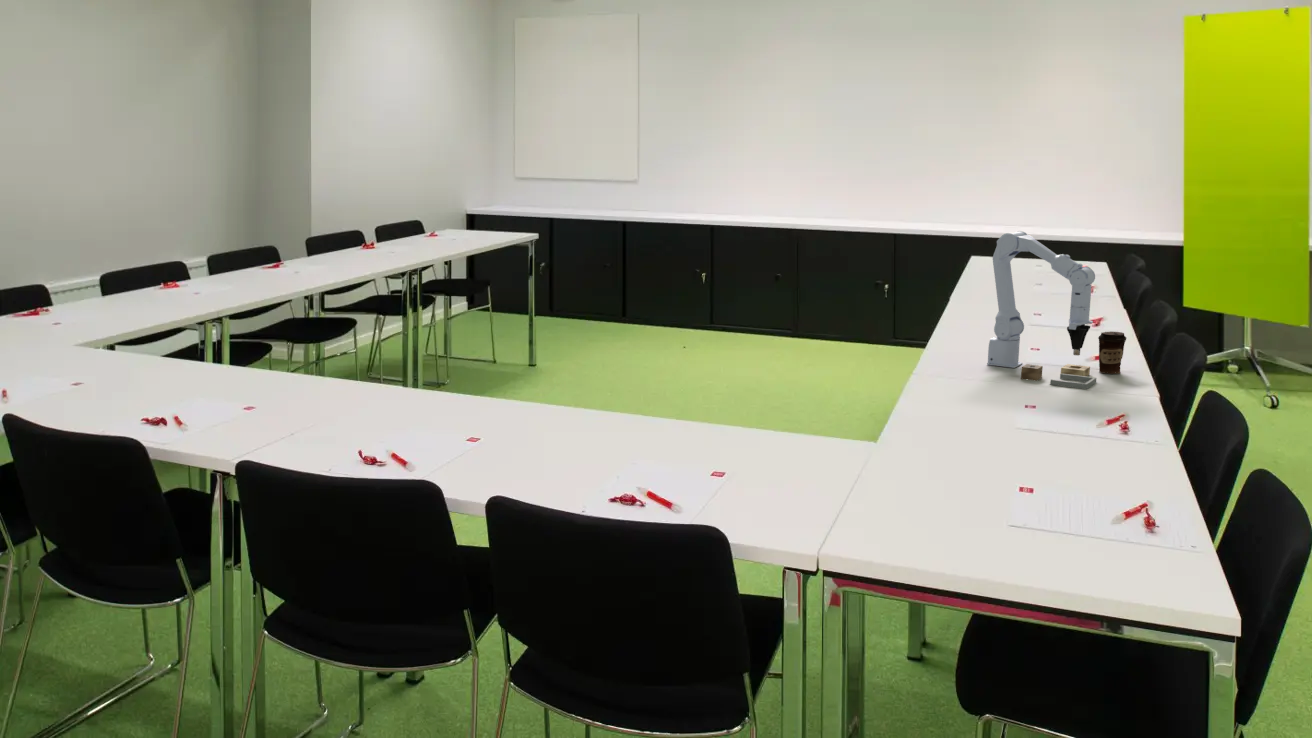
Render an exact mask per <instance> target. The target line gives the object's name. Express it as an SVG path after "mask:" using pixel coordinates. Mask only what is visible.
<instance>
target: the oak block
mask: <svg viewBox="0 0 1312 738" xmlns="http://www.w3.org/2000/svg"><path fill="white" fill-rule="evenodd" d="M1090 371H1091V366H1088V365H1081V364H1080V365H1078V364H1071V363H1067V364H1065V365H1063V366H1061V368H1060V374H1070V375H1078V376H1086V377H1089V374H1091V372H1090Z"/></svg>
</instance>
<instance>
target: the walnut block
mask: <svg viewBox="0 0 1312 738" xmlns="http://www.w3.org/2000/svg"><path fill="white" fill-rule="evenodd" d="M1020 370H1021V371H1020V372H1021V374H1020V379H1021V380H1026V379H1028V380H1027V381H1034V380H1035V381H1034V382H1037V380H1038V381H1040V380H1041V379H1042V378H1043V365H1038V364H1037V365H1036V364H1030V363H1029V364H1028V363H1026V364H1024V365H1022V366H1021V369H1020Z"/></svg>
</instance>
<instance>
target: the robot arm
mask: <svg viewBox="0 0 1312 738" xmlns="http://www.w3.org/2000/svg"><path fill="white" fill-rule="evenodd" d="M1021 252H1030V253H1031V254H1034V256H1037V257H1039V258H1040V259H1041V260H1044V261H1045V262H1047V263H1049V264H1050V266H1051V270H1053V271H1054V272H1056V273H1057V274H1058V275H1060V276H1062V277H1064V278H1065V279H1066V280H1068V281H1069V283H1070V285H1071V295H1070V296H1071V297H1070V308H1069V309H1070V310H1069V319H1068V326H1067V327H1066V330H1067V333H1068V335H1069V338H1070V345H1071V348H1072V350H1074V349H1076V350H1079V349H1080V350H1081V349H1082V348H1083V346H1084V343H1085V340H1086V337H1087V334H1088V332H1089V330H1090V329H1091V325H1092V324H1093V323H1094V321H1093V320H1090V311H1091V299H1092V284H1093V283H1094V282H1095V279H1096V274H1095V271H1094V270H1093V269H1092V268H1091V267H1089V266H1084V265H1083V264H1082V263H1078V262H1077V261H1075V260H1073V259H1072V258H1071V256H1070V255H1069V254H1064V253H1062V254H1061V253H1060V254H1057V253H1055V252H1054V251H1053V250H1051V249H1049V248H1048V247H1047V246H1045V245H1044V244H1043V243H1041V242H1040V241H1038V240H1037V239H1036V238H1035V237H1034V236H1032V235H1030V234H1028V233H1027V232H1025V231H1022V230H1018V231H1014V232H1006V233H1004V234H1002V235H1001V236H1000V237H999V238H998V239H997V240H996V248H995V250H994V252H993V256H992V264H993V273H994V275H993V276H994V282H995V283H994V284H995V290H996V299H997V306H998V312H997V314H996V316H995V323H994V326H993V332H994V334H995V336H996V337H995V336H994V337H991V338H990V340H989V343H988V350H987V352H988V353H987V363H986V365H988V366H995V367H996V366H998V367H1005V368H1012V369H1014V368H1017V367H1020V366H1021V365H1022V364H1023V362H1021V361H1019V356H1020V342H1021V334H1023V332H1024V329H1025V324H1024V321H1023V320H1022V318H1021V313H1020V312H1019V310H1018V309H1017V307H1016V300H1015V299H1016V298H1015V291H1014V282H1013V275H1012V265H1011V261H1012V260H1013V259H1014V258H1015V257H1016V256H1017V255H1018V254H1019V253H1021ZM1083 266H1084V267H1083Z"/></svg>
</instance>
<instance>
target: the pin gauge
mask: <svg viewBox="0 0 1312 738" xmlns="http://www.w3.org/2000/svg"><path fill="white" fill-rule="evenodd" d="M1072 354H1073V355H1072V356H1080V355H1081V348H1080V349H1079V350H1076V349H1073V353H1072Z"/></svg>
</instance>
